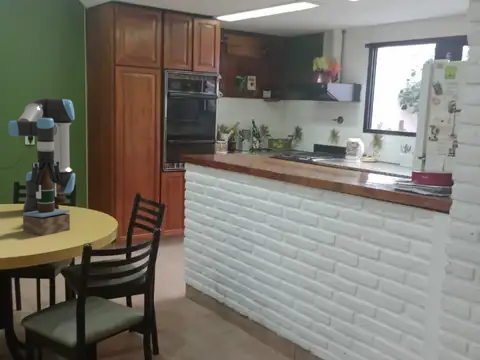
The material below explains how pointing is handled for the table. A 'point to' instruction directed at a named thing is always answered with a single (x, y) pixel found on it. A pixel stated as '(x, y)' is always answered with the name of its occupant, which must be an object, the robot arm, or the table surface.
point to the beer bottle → (46, 194)
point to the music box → (59, 198)
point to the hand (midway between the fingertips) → (46, 197)
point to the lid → (39, 214)
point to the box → (46, 224)
